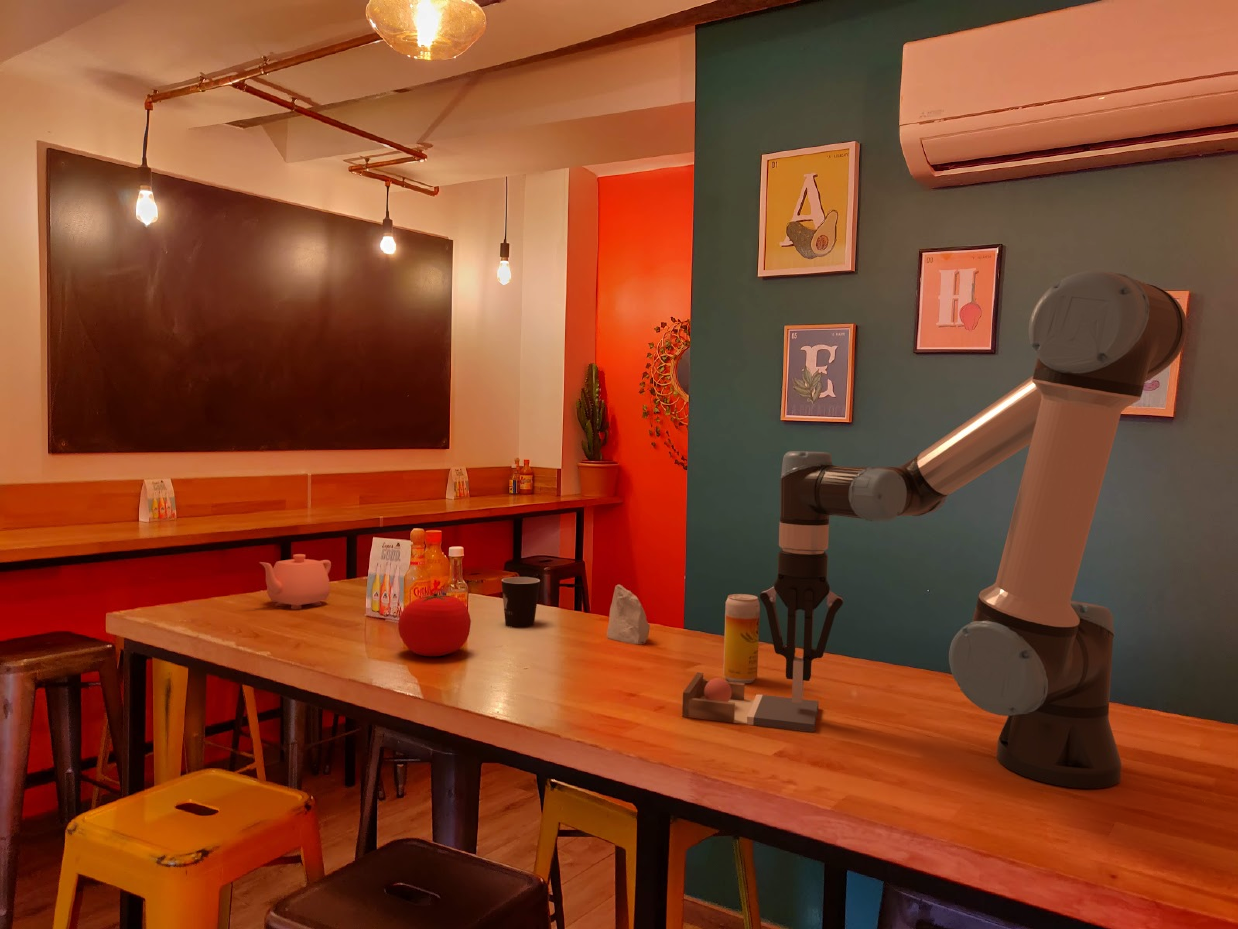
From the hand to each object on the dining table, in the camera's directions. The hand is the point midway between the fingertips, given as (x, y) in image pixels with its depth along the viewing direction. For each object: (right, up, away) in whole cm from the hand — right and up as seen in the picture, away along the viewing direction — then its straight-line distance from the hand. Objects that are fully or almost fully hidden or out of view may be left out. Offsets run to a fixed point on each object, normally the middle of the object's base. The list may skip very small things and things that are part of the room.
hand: (797, 700), depth 137 cm
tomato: (-64, 0, +32) cm, 71 cm away
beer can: (-6, -2, +21) cm, 22 cm away
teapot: (-106, +3, +73) cm, 128 cm away
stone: (-26, 0, +48) cm, 55 cm away
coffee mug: (-50, +1, +61) cm, 79 cm away
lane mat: (-7, -3, +2) cm, 8 cm away
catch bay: (-13, -2, +4) cm, 13 cm away
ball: (-12, 0, +4) cm, 13 cm away
